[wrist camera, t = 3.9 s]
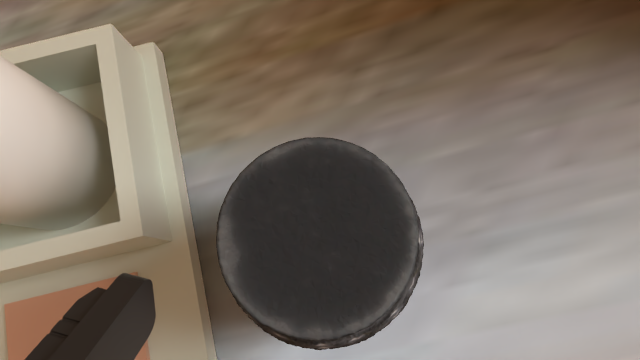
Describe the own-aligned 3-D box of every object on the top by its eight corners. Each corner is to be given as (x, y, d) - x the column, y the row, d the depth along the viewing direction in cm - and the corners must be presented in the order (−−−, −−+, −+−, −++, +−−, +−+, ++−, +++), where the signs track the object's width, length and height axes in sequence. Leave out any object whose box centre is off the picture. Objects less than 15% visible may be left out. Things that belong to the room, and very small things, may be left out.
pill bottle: (239, 273, 20) (127, 274, 10) (307, 167, 21) (275, 62, 11) (349, 346, 19) (361, 439, 9) (416, 232, 20) (500, 190, 10)
